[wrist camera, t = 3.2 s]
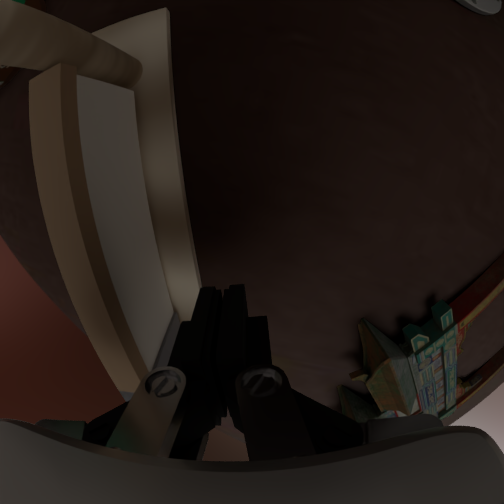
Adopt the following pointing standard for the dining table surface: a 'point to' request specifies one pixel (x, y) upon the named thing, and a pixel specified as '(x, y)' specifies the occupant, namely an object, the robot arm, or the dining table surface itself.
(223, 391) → the robot arm
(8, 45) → the gate frame
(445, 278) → the dining table surface
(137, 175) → the panel
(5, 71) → the food container
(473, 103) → the dining table surface
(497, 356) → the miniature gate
